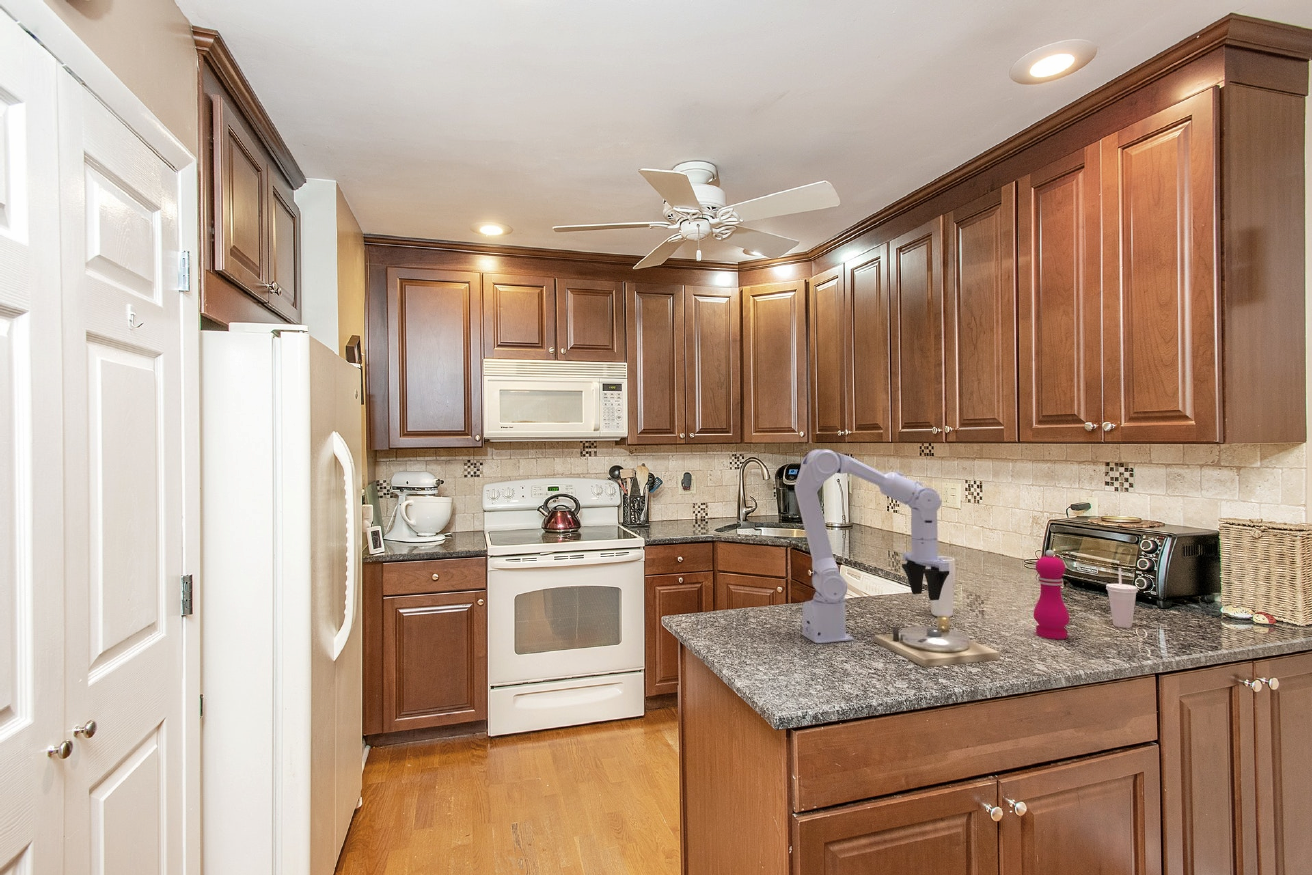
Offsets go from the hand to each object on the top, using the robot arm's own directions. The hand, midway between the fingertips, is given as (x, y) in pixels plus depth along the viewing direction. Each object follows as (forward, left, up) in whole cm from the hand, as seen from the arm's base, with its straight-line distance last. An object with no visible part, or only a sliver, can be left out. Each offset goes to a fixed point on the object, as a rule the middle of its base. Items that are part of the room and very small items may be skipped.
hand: (925, 596), depth 155 cm
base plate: (-4, -9, -9) cm, 14 cm away
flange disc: (-5, -9, -8) cm, 13 cm away
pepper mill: (+28, -7, -10) cm, 31 cm away
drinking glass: (+16, +16, -10) cm, 25 cm away
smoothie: (+52, -5, -10) cm, 53 cm away
